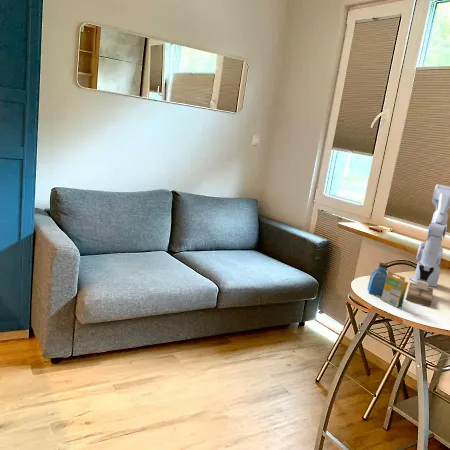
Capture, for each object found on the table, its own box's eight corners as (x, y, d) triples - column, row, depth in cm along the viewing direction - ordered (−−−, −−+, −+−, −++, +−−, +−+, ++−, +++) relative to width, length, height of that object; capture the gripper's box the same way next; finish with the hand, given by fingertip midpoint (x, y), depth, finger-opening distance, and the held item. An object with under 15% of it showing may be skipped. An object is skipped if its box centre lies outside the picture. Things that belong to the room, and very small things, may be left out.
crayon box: (401, 307, 168) (410, 277, 166) (397, 308, 167) (405, 278, 164) (385, 299, 174) (392, 270, 171) (380, 299, 172) (388, 270, 170)
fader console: (408, 287, 193) (410, 282, 193) (431, 294, 190) (433, 288, 189) (405, 299, 177) (407, 293, 177) (430, 307, 174) (432, 300, 173)
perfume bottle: (385, 297, 176) (393, 267, 174) (369, 293, 177) (376, 264, 175) (383, 292, 182) (390, 263, 180) (367, 288, 183) (374, 260, 181)
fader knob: (415, 285, 188) (417, 277, 188) (427, 288, 187) (429, 281, 186) (415, 287, 186) (417, 279, 185) (426, 290, 184) (429, 282, 183)
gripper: (441, 258, 179) (432, 290, 182) (441, 251, 192) (432, 281, 195) (422, 253, 182) (413, 285, 185) (423, 247, 195) (415, 277, 198)
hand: (422, 283), depth 190 cm, fingers closed
